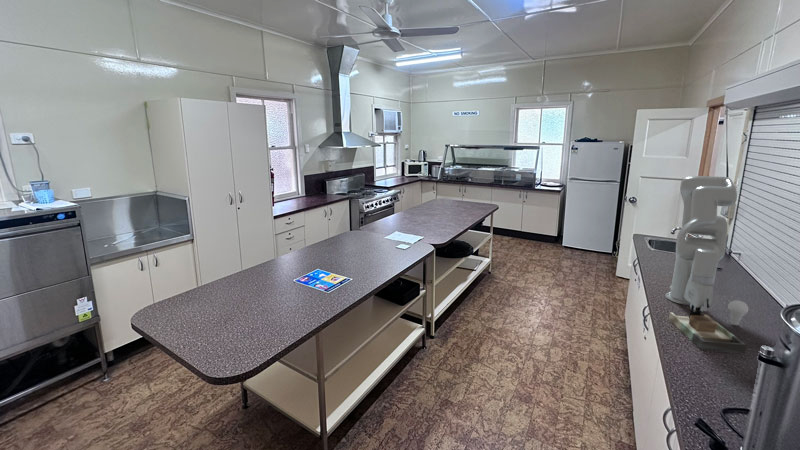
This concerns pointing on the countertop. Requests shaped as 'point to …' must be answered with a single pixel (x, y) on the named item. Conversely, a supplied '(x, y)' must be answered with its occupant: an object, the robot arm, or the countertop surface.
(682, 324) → the trap lane
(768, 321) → the countertop surface
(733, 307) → the lightbulb
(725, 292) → the countertop surface
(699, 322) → the walnut block
